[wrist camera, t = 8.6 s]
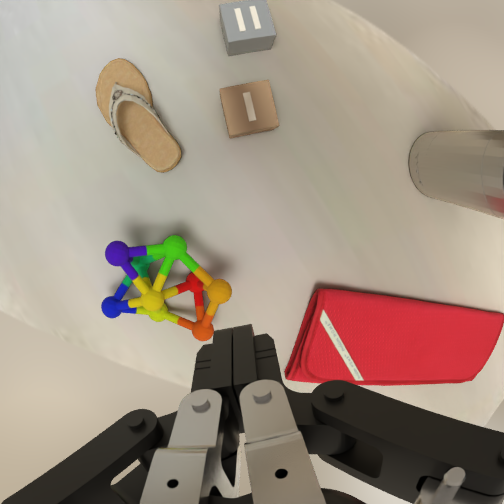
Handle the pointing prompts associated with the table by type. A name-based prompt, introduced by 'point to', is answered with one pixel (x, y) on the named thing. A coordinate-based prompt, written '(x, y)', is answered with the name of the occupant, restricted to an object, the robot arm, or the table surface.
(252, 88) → the walnut block
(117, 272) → the table surface
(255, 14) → the slate block
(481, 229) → the table surface
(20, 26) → the table surface
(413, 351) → the dish drying mat
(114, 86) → the sandal
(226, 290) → the decorative model
